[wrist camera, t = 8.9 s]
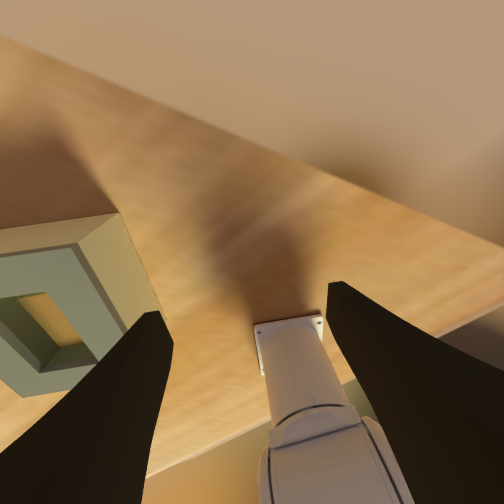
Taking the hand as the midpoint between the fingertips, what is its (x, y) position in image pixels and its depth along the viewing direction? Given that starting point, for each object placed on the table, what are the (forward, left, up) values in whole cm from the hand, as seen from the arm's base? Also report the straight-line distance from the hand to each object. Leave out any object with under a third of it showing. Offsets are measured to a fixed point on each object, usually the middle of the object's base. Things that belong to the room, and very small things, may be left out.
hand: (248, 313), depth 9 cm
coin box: (-4, +14, -10) cm, 18 cm away
